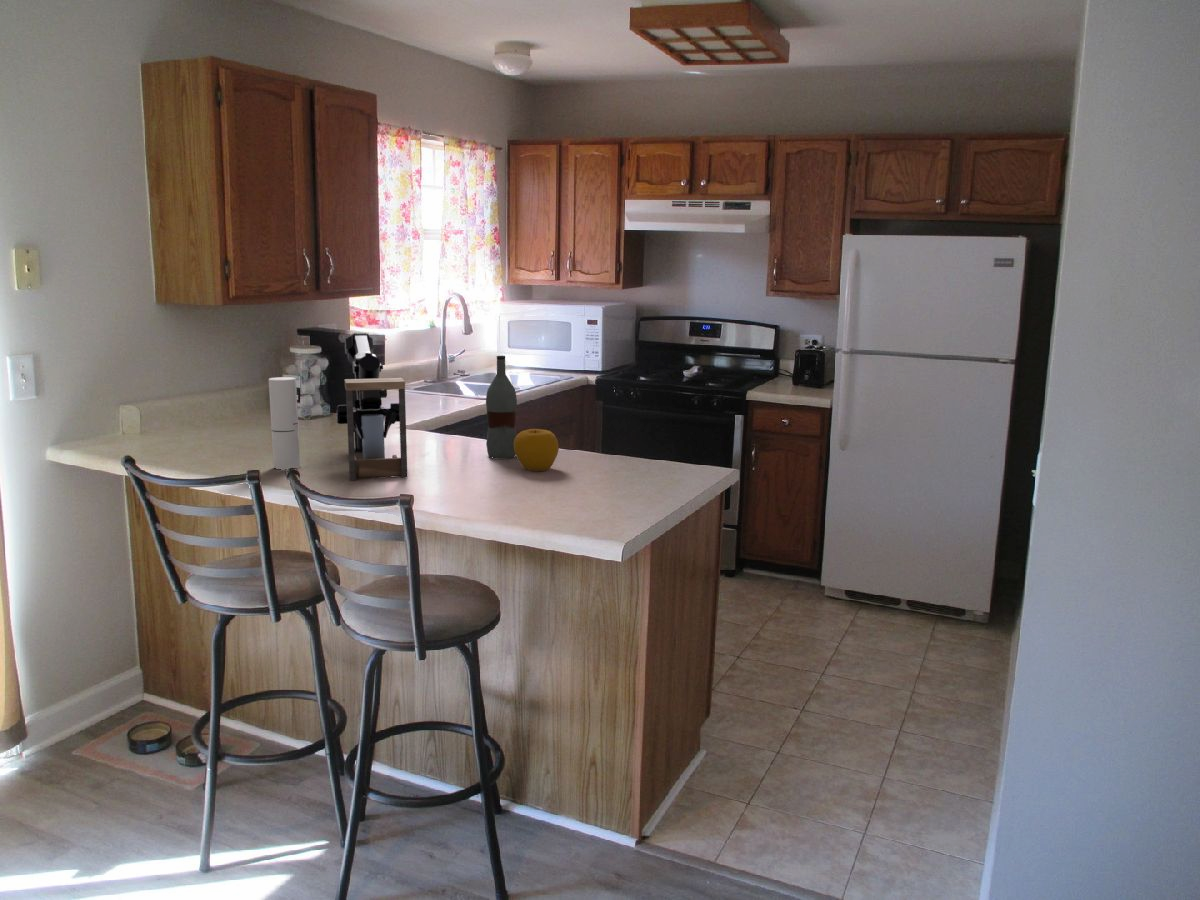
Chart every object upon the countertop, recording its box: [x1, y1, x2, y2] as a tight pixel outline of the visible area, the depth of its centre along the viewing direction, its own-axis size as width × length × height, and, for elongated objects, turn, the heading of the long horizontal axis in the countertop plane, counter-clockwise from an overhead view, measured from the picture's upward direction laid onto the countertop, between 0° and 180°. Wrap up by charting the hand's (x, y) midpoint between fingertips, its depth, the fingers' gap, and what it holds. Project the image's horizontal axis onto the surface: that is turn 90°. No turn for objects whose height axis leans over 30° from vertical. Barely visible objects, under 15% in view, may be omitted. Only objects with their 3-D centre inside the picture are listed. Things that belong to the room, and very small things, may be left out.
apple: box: [514, 428, 559, 473], centre depth 270 cm, size 13×13×11 cm
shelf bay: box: [344, 377, 408, 482], centre depth 261 cm, size 15×15×26 cm
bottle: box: [485, 355, 518, 459], centre depth 286 cm, size 9×9×30 cm
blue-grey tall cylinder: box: [361, 414, 386, 460], centre depth 270 cm, size 6×6×12 cm
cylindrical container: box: [268, 376, 301, 471], centre depth 268 cm, size 7×7×25 cm
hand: (373, 437), depth 269 cm, fingers closed on blue-grey tall cylinder, 6 cm apart
